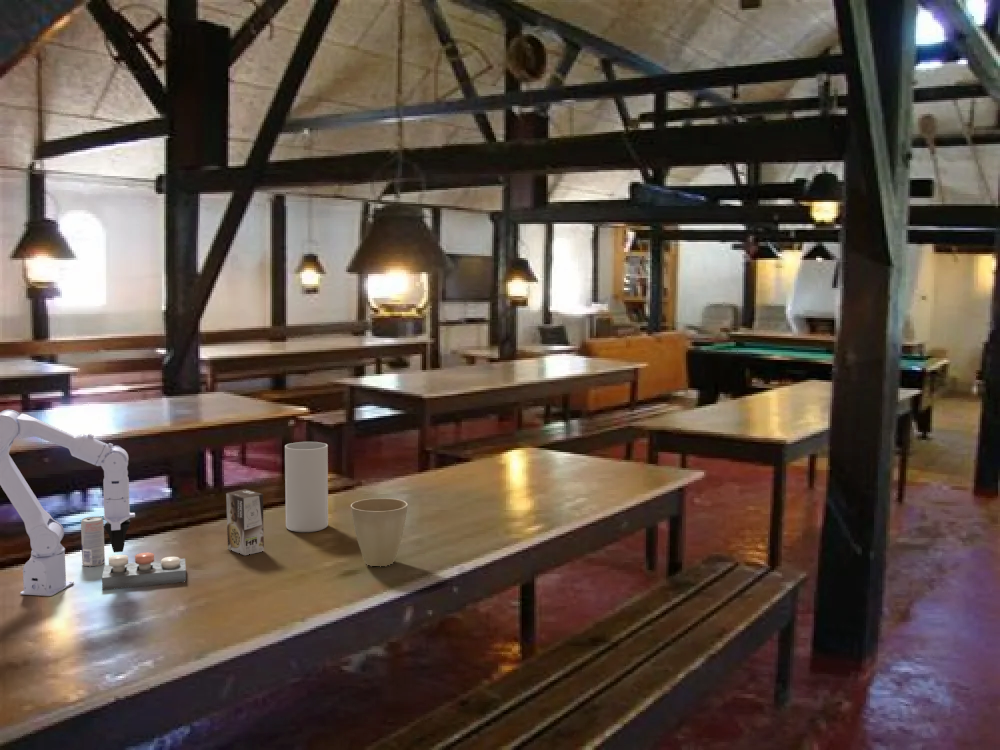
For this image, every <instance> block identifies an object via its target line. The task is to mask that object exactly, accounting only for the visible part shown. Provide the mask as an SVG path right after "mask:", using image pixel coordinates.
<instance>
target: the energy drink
mask: <svg viewBox="0 0 1000 750" xmlns="http://www.w3.org/2000/svg"><path fill="white" fill-rule="evenodd" d="M80 529H81V530H80V533H81V537H80V538H81V561H82V565H83V566H84V567H86V566H89V567H88V568H92V567H91V566H95V567H99V565H100V566H102V565H104V564H105V561H106V559H105V557H106V556H105V554H106V553H105V532H104V531H105V524H104V518H103V516H87V517H84V518H82V519H81V522H80ZM103 563H104V564H103Z"/></svg>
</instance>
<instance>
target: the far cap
mask: <svg viewBox="0 0 1000 750" xmlns="http://www.w3.org/2000/svg"><path fill="white" fill-rule="evenodd" d="M180 559H181V558H180V557H178V556H166V557H163V558H161V560H160V561H161V567H162V568H175V567H178V566H180Z"/></svg>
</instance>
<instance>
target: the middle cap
mask: <svg viewBox="0 0 1000 750" xmlns="http://www.w3.org/2000/svg"><path fill="white" fill-rule="evenodd" d="M154 561H155V554H154V553H153V552H140V553H137V554H135V555H134V563H136V564H139V570H151V563H152V562H154Z"/></svg>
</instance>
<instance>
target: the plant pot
mask: <svg viewBox="0 0 1000 750" xmlns="http://www.w3.org/2000/svg"><path fill="white" fill-rule="evenodd" d="M408 505H409V504H408V503H407V502H406V501H405V500H403V499H397V498H387V497H382V498H381V497H379V498H378V497H377V498H367V499H361V500H356V501H354V502H352V503H351V504H350V510H351V517H352V523H353V528H354V533H355V536H356V540H357V544H358V547H359V550H360V552H361V556H362V558H363V561H364V563H365V565H366V564H367V566H368V565H370V566H369V567H372V566H380V567H379V568H382V567H381V566H385V567H388V566H387V565H389V566H391V565H390V564H392V565H393V564H394V563H395V560H396V557H397V554H398V551H399V549H400V546H401V541H402V538H403V534H404V529H405V523H406V520H407V511H408ZM393 562H394V563H393Z"/></svg>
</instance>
